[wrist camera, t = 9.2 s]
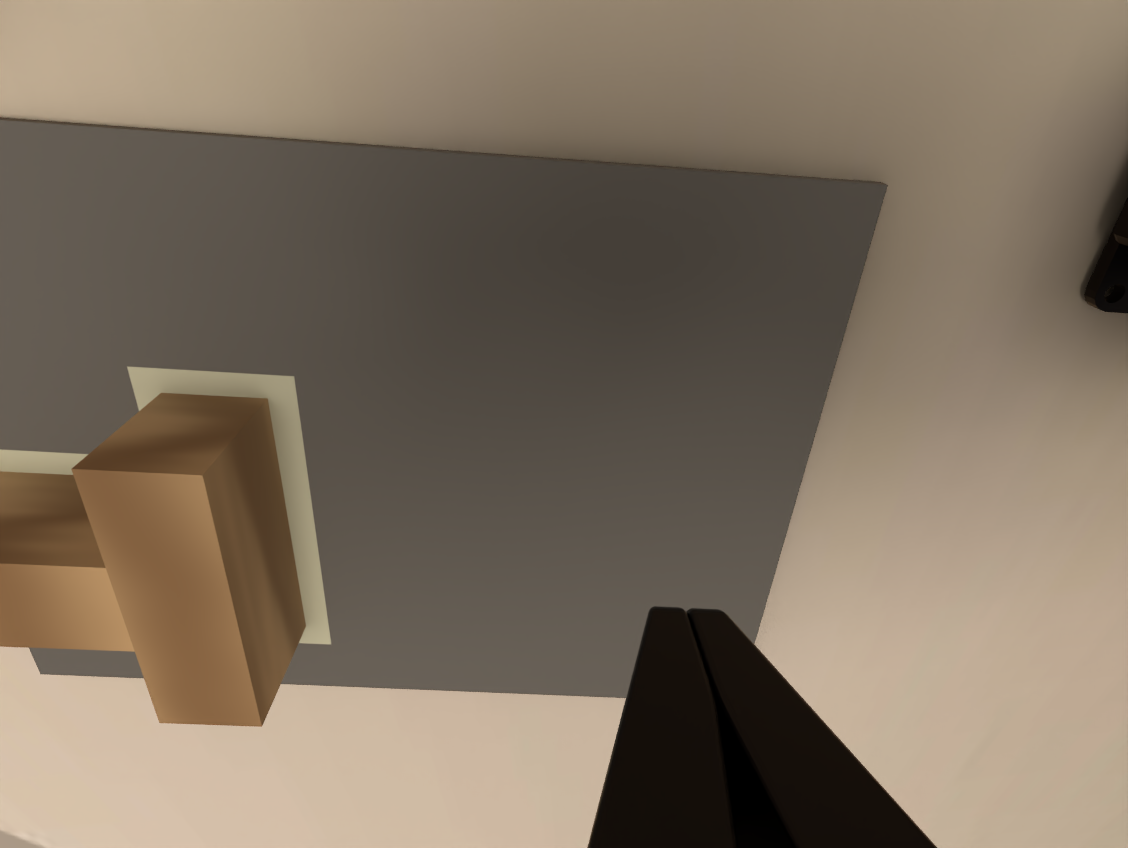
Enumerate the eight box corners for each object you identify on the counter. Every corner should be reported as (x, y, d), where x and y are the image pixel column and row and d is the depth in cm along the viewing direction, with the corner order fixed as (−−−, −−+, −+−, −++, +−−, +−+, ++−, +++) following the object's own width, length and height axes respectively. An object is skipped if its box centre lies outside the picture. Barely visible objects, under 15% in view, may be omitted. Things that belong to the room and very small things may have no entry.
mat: (881, 182, 17) (887, 185, 16) (735, 693, 26) (737, 702, 26) (-197, 103, 16) (-215, 104, 15) (48, 665, 25) (40, 674, 25)
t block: (267, 398, 19) (202, 475, 16) (306, 626, 23) (261, 726, 20) (-57, 381, 19) (-198, 455, 15) (43, 615, 23) (-49, 715, 20)
